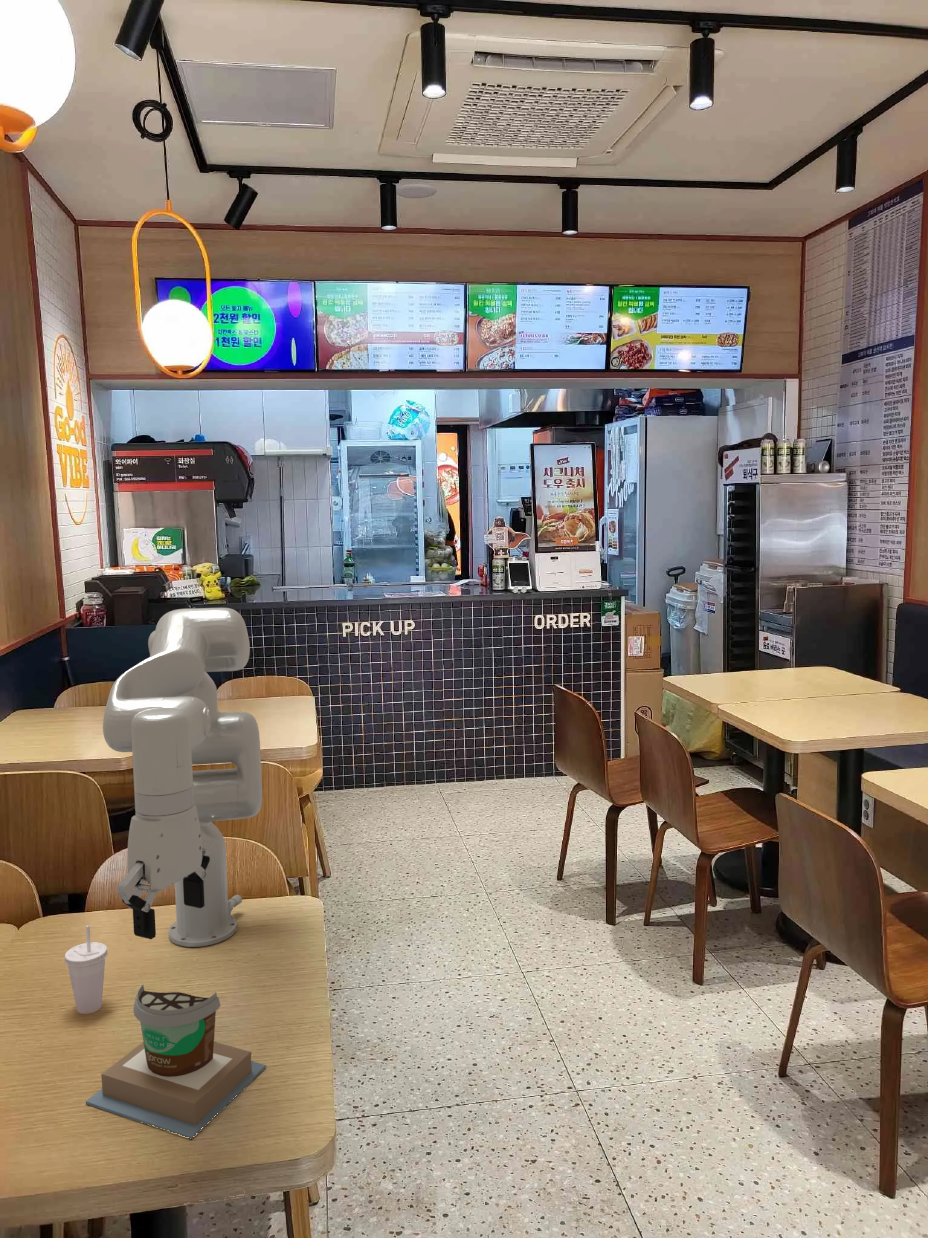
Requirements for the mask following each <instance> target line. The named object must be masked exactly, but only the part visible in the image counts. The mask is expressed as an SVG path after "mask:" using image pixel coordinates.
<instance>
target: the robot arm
mask: <svg viewBox="0 0 928 1238" xmlns="http://www.w3.org/2000/svg"><path fill="white" fill-rule="evenodd" d="M249 638H250V637H249V635H248V629H247V626H246V622H245V619H244V618H243V617H242V615H241V613H239V612H238V611H236V610H235V609H233V608H229V607H205V608H203V607H202V608H201V607H200V608H197V607H196V608H195V607H194V608H179V609H173V610H171V611H168V612H166V613H165V614H163V615H162V616H161V617H160V618H159V620H158V622H157V624H156V626H155V630H153V631H152V632H151V633H150V635H149V637H148V640H147V641H148V643H147V645H148V646H147V647H148V652H149V657H147V658H145V659H143V660H142V661H139V662H138V663H137V664H136V665H134V666H132V667H130V668H129V669H128V670H126V671H125V672H124V673H123V672H122V674H121V675H120V676H119V677H117V679H116V680H115V681H114V682H113V684H112V687H111V688H110V690H109V695H108V697H107V701H106V706H105V708H104V714H103V719H102V720H103V722H102V733H103V738H104V741H105V743H106V744H107V746H108V747H109V748H111V750H114V751H115V752H119V753H132V769H133V770H132V771H133V773H132V774H133V788H134V789H133V790H134V809H135V815H133V816H131V819H130V825H129V830H128V840H127V858H126V859H127V861H126V862H127V864H126V865H127V871H126V872H127V874H126V875H125V876H124V877H123V878H122V880H121V881H120V882H119V884H118V885H117V886H116V891H117V893H118V895H119V896H120V899H121V901H122V903H123V904H124V905H125V906H127V907H128V909H131V910H132V921H133V922H132V923H133V934H134V936H136V937H140V938H144V939H149V940H153V939H155V938H156V934H157V933H156V930H157V929H156V913H155V912H156V911H155V909H154V908H152V906H153V904H154V901H155V899H156V897H157V894H158V893H159V892H161V891H162V890H165V889H167V888H168V887H170V886H172V885H174V895H175V916H176V919H175V920H176V921H174V922H173V923H172V924H171V925H170V926H169V928H168V938H169V940H170V942H172V943H173V944H176V945H177V946H181V947H188V948H189V947H190V948H197V947H206V946H211V945H215V944H218V943H220V942H223V941H226V940H227V939H229V938H231V937H232V936H233V935H234V934H235V933H236V931H237V929H238V922H237V919H236V918H235V917H234V916H233V915H232V911H233V910H234V908H235V907H237V906H239V905H241V903H242V902H243V898H242V896H241V895H239V894H235V895H233V896H232V897H231V898H229V897H228V878H227V877H228V876H227V875H228V873H227V872H228V871H227V854H226V853H227V851H226V849H227V848H226V842H225V837H224V835H223V834H222V832H221V830H220V829H219V828H218V827H217V826H216V825H215V824H214V823H213V822H218V821H229V820H241V819H243V820H244V819H250V818H253V817H256V815H258V814H259V812H260V810H261V808H262V803H263V781H262V777H263V776H262V760H261V759H262V757H261V740H260V729H259V724H258V722H257V719H256V717H255V716H253V714H251V713H249V712H246V711H228V712H227V711H224V712H221V711H219V709H218V693H217V691H218V690H217V689H218V688H217V686H216V684H215V681H214V680H213V679H212V677H210V675H209V674H208V673H211V672H212V673H213V672H214V673H215V672H235V671H240V670H242V669H244V667H246V665H247V663H248V662H249V660H250V659H249V658H250V655H251V653H250V651H251V650H250V649H251V647H250V646H251V644H250V639H249ZM213 764H214V765H217V764H234V765H235V767H236V768H223V769H216V768H215V769H213V768H212V769H204V770H203V769H202V770H201V769H199V770H193V766H194V765H195V766H196V765H197V766H198V765H199V766H201V765H213ZM147 883H148V884H149V885H148V884H147ZM144 892H146V895H145V898H144V899H143V898H141V897H142V895H143V894H144ZM228 898H229V899H228Z"/></svg>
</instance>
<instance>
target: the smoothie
mask: <svg viewBox="0 0 928 1238" xmlns="http://www.w3.org/2000/svg"><path fill="white" fill-rule="evenodd" d="M90 930H91V928H90V925H86V926H85V935H86V937H85V938H86V942H84V943H81V944H78V945H75V946H73V947H71V948H70V949H68V950H67V951H66V952H65V955H64V963H65V965H67V969H68V973H69V978H70V983H71V988H72V992H73V997H74V1002H75V1006H76V1012H77V1013H78V1014H81V1015H87V1014H93V1013H95V1012H97V1011H99V1010H100V1009H101V1008H102V1006H103V992H104V991H103V990H104V980H105V969H106V967H105V966H106V957H107V956H108V946H107V945H106V944H105V943H101V942H95V941H92V942H91V931H90Z"/></svg>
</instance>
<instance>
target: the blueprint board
mask: <svg viewBox="0 0 928 1238" xmlns="http://www.w3.org/2000/svg"><path fill="white" fill-rule="evenodd" d="M265 1067H266V1068H267V1065H266V1064H263V1063H259V1062H256V1061H252V1051H249V1050H245V1049H242V1048H237V1047H235V1046H231V1045H227V1044H224V1043H220V1042H217V1041H214V1049H213V1059H212V1060H211V1061H210V1062H209V1063H208V1064H207V1065H205V1066H204V1067H202V1068H201V1069H199V1070H197V1071H194V1072H192V1073H189V1074H186V1075H182V1076H175V1077H166V1076H160V1075H157V1074H154V1073H153V1072H152V1071H151V1070H150V1069H148V1065H147V1061H146V1055H145V1048H144V1042H143V1041H142V1042H141V1043H140V1044H139V1045H137V1046H136V1047H135V1048H133V1049H132V1050H131V1051H129V1052H128V1053H127V1054H126V1055H124V1056H123V1057H121V1058H120V1059H119V1060H118V1061H116V1062H115V1063H114V1064H112V1065H111V1066H110V1067H109V1068H107V1069H106V1070H105V1071H103V1072H102V1073H101V1075H100V1076H101V1089H99V1090H98V1091H97V1092H96V1093H94V1094H93V1095H92V1096H90V1097H89V1098H88V1099H87V1100H85V1104H86V1105H88V1106H91V1107H93V1108H97V1109H100V1110H103V1111H105V1112H108V1113H112V1114H114V1115H117V1116H121V1117H123V1118H126V1119H127V1120H128V1119H129V1120H131V1119H132V1121H134V1120H135V1122H137V1121H138V1123H140V1122H143V1123H144V1125H146V1124H149V1125H151V1126H150V1127H152V1125H154V1126H155V1127H158V1128H162V1129H165V1130H169V1131H170V1132H173V1133H177V1134H180V1135H182V1136H185V1137H189V1138H191V1139H192V1138H193V1136H195V1135H196V1133H198V1132H199V1131H200V1130H201V1128H202V1127H204V1126H205V1125H207V1123H208V1122H209V1121H211V1119H212V1118H214V1116H215V1115H217V1113H219V1112H220V1111H221V1110H222V1109H223V1108H224V1107H225V1106H226V1107H228V1105H229V1104H230V1103H231V1102H232V1101H233V1100H234V1099H235V1098H236V1097H237V1096H239V1094H238V1093H240V1092H241V1091H242V1090H243V1089H244V1088H245V1087H246V1086H247V1087H248V1086H249V1085H250V1084H251V1083H252V1082H253V1081H254V1080H255V1079H256V1078H257V1077H258V1076H259V1075H260V1074H261V1073H262V1072H263V1071H264V1070H266V1068H265ZM263 1069H264V1070H263ZM262 1070H263V1071H262ZM260 1072H261V1073H260ZM259 1073H260V1074H259ZM257 1075H258V1076H257ZM256 1076H257V1077H256ZM254 1078H255V1079H254ZM252 1080H253V1081H252ZM251 1081H252V1082H251ZM250 1082H251V1083H250ZM248 1084H249V1085H248ZM247 1087H246V1088H247ZM246 1088H245V1089H246ZM243 1091H244V1090H243ZM241 1093H242V1092H241ZM241 1093H240V1094H241ZM236 1095H237V1096H236ZM235 1096H236V1097H235ZM233 1098H234V1099H233ZM232 1099H233V1100H232ZM230 1101H231V1102H230ZM229 1102H230V1103H229ZM227 1104H228V1105H227ZM226 1107H225V1108H226ZM225 1108H224V1109H225ZM224 1109H223V1110H224ZM223 1110H222V1111H223ZM222 1111H221V1112H222ZM221 1112H220V1113H221ZM220 1113H219V1114H220ZM217 1116H218V1115H217ZM214 1119H215V1118H214ZM211 1122H212V1121H211ZM143 1123H142V1124H143ZM149 1125H148V1126H149ZM207 1126H208V1125H207ZM155 1127H154V1128H155ZM158 1128H157V1129H158ZM204 1128H205V1127H204ZM201 1131H202V1130H201ZM201 1131H200V1132H201ZM200 1132H199V1133H200ZM199 1133H198V1134H199ZM196 1136H197V1135H196ZM196 1136H195V1137H196ZM193 1139H194V1138H193ZM193 1139H192V1140H193Z"/></svg>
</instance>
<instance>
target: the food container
mask: <svg viewBox="0 0 928 1238" xmlns="http://www.w3.org/2000/svg"><path fill="white" fill-rule="evenodd" d="M219 1008H221V1002H220V999H219V996H218V994H217V992H214V993H212V995H211V996H210V997H203V996H196V995H192V994H189V993H185V992H179V991H173V992H160V991H159V992H157V991H148V990H145V986H144V984H142V985H141V986H140V987H139V989H138V990H137V993H136V995H135V998H134V1004H133V1015H134V1017H135V1018H136V1019H137V1020H138V1021H139V1023H140V1028H141V1029H140V1030H141V1035H142V1043H143V1042H144V1048H145V1055H146V1061H147V1065H148V1069H150V1070H151V1071H152V1072H153V1073H154V1074H157V1075H160V1076H166V1077H175V1076H182V1075H186V1074H189V1073H192V1072H194V1071H197V1070H199V1069H201V1068H202V1067H204V1066H205V1065H207V1064H208V1063H209V1062H210V1061H211V1060H212V1059H213V1049H214V1042H215V1031H216V1029H215V1028H216V1016H217V1015H216V1013H217V1010H218V1009H219Z"/></svg>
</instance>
